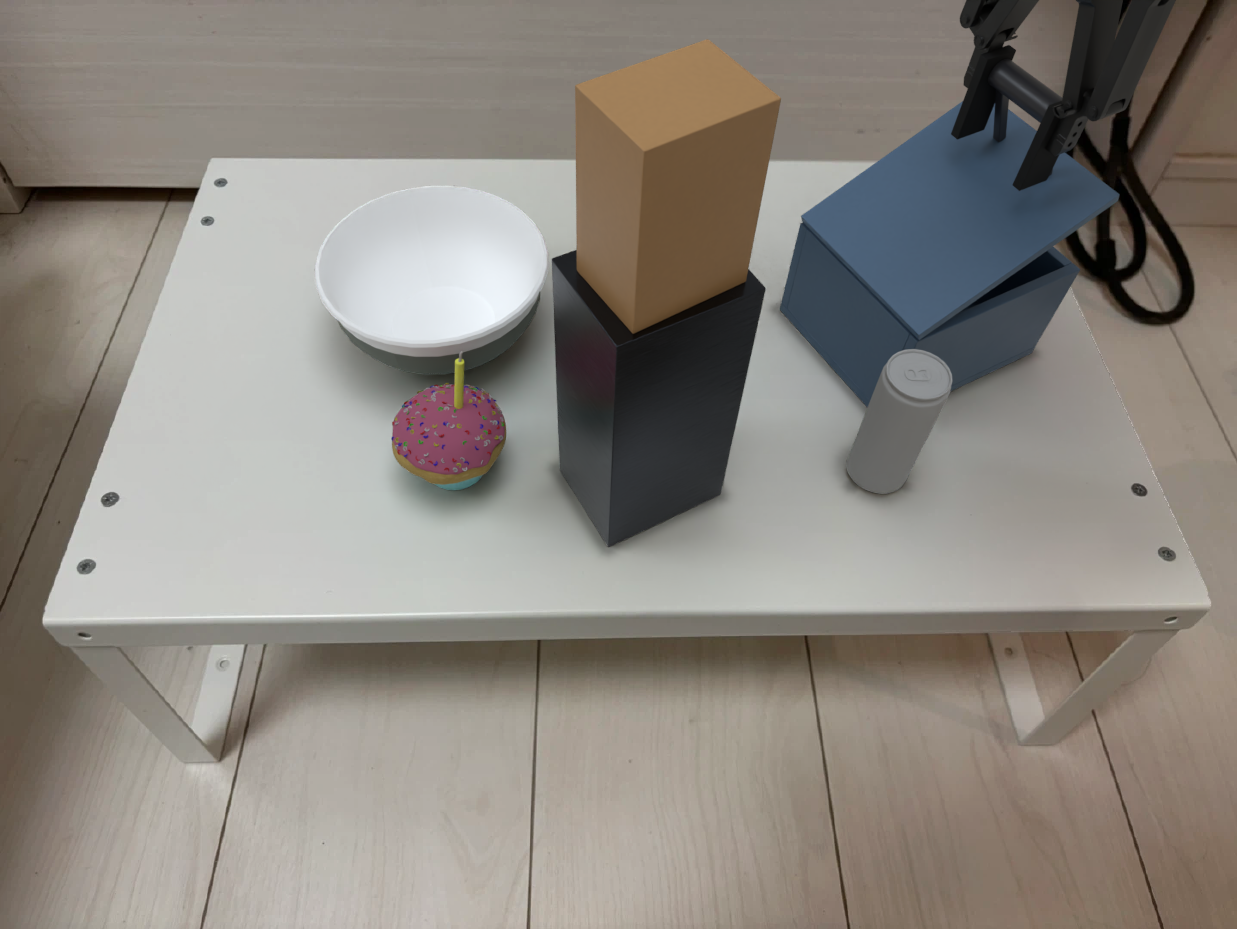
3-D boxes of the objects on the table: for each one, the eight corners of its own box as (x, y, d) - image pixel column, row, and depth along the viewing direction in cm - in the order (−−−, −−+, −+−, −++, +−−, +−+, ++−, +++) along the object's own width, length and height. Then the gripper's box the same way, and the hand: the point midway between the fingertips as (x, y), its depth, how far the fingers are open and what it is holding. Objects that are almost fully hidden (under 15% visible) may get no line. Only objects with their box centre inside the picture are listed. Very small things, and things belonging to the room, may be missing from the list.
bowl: (355, 436, 74) (333, 368, 67) (320, 279, 84) (297, 206, 77) (578, 383, 78) (578, 313, 71) (519, 239, 88) (514, 166, 81)
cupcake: (467, 407, 76) (450, 302, 66) (533, 471, 73) (525, 370, 63) (379, 463, 73) (347, 361, 63) (444, 533, 69) (421, 437, 59)
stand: (721, 495, 72) (766, 287, 54) (608, 547, 69) (616, 347, 51) (668, 422, 76) (693, 207, 58) (559, 469, 73) (551, 258, 55)
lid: (980, 94, 75) (984, 11, 68) (1118, 201, 68) (1138, 120, 61) (801, 221, 76) (786, 152, 68) (919, 340, 68) (916, 277, 61)
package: (746, 282, 54) (782, 97, 44) (632, 334, 52) (644, 151, 42) (686, 223, 57) (708, 37, 47) (576, 270, 54) (574, 84, 45)
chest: (922, 250, 89) (956, 164, 81) (1031, 353, 82) (1081, 269, 74) (779, 309, 84) (800, 223, 76) (882, 424, 77) (917, 342, 68)
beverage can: (910, 498, 72) (961, 401, 63) (848, 497, 72) (890, 399, 62) (900, 448, 75) (947, 348, 65) (840, 447, 75) (879, 346, 65)
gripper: (981, -254, 54) (878, 102, 73) (1250, -118, 45) (1052, 250, 63) (1075, -273, 56) (951, 77, 75) (1349, -147, 47) (1129, 216, 66)
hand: (998, 156), depth 69 cm, fingers closed on lid, 6 cm apart
